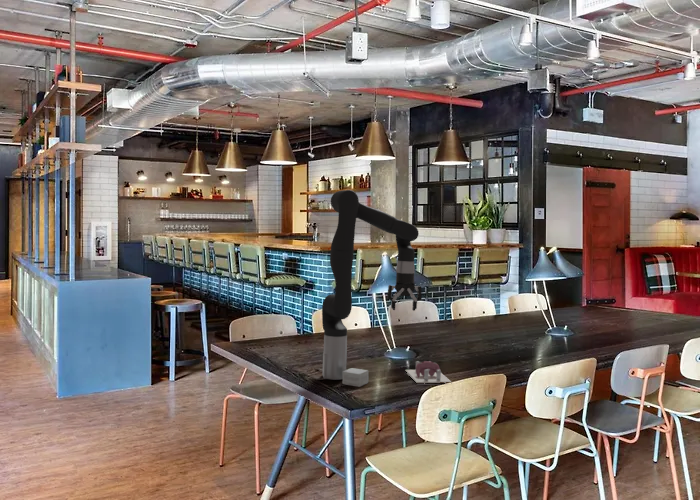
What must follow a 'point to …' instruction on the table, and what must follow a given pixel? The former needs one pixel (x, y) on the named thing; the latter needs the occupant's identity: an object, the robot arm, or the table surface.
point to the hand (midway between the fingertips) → (403, 310)
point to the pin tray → (430, 378)
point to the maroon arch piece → (426, 365)
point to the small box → (355, 377)
